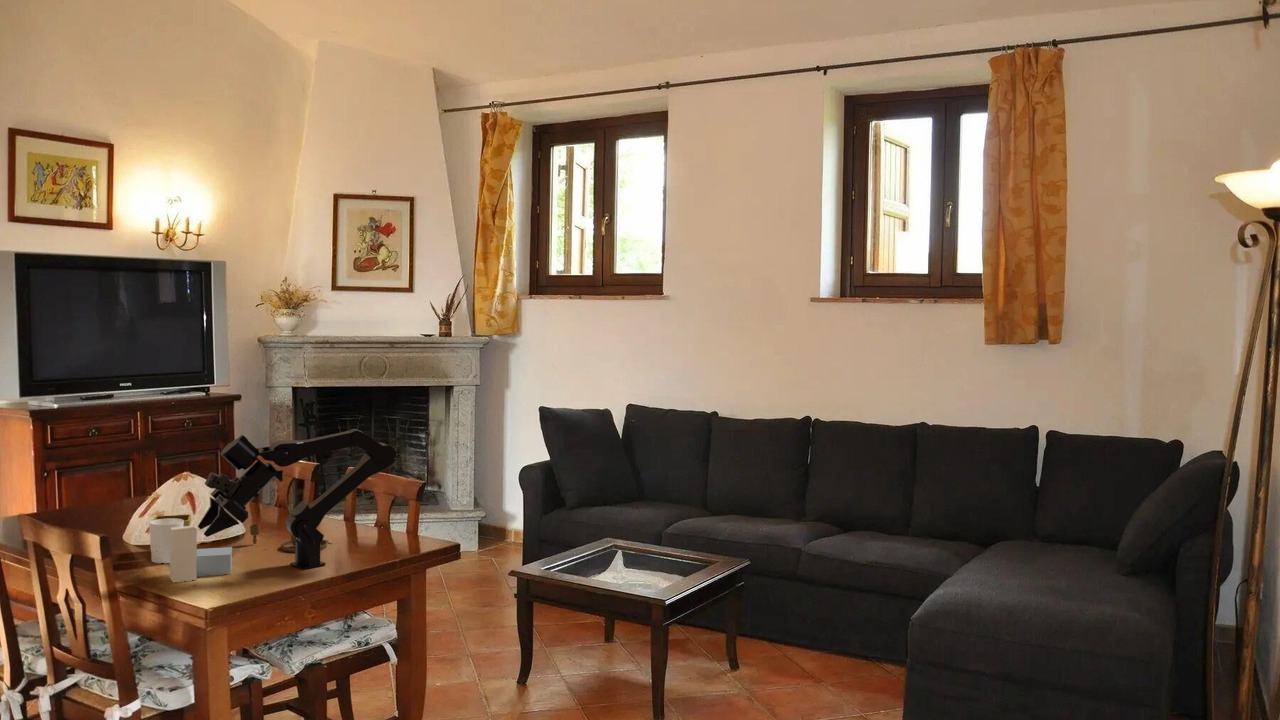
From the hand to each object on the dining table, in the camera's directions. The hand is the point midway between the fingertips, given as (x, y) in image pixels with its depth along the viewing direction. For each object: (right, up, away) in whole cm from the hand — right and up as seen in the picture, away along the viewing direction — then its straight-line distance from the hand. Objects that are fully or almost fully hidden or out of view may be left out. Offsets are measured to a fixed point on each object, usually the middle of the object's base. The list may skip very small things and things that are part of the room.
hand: (202, 531), depth 235 cm
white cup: (-16, -10, +15) cm, 24 cm away
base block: (0, -11, +6) cm, 12 cm away
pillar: (-4, -11, -2) cm, 12 cm away
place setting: (+10, -10, +34) cm, 37 cm away
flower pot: (-19, -10, +24) cm, 32 cm away
